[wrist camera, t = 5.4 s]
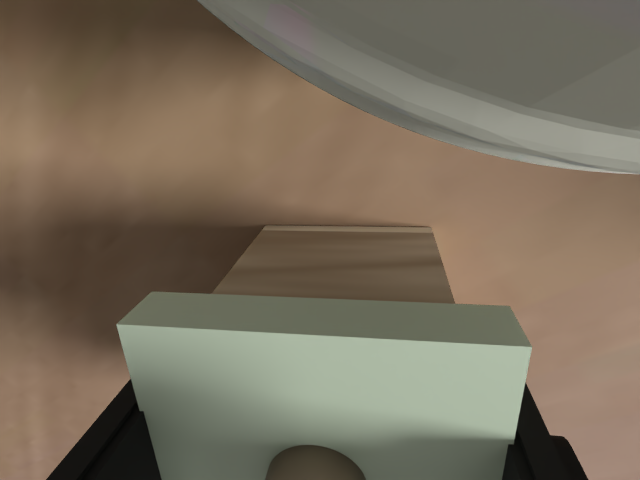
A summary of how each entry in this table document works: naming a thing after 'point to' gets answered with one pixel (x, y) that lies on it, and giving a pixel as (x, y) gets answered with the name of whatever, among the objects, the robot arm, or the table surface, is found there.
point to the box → (341, 264)
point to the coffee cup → (470, 69)
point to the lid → (325, 387)
